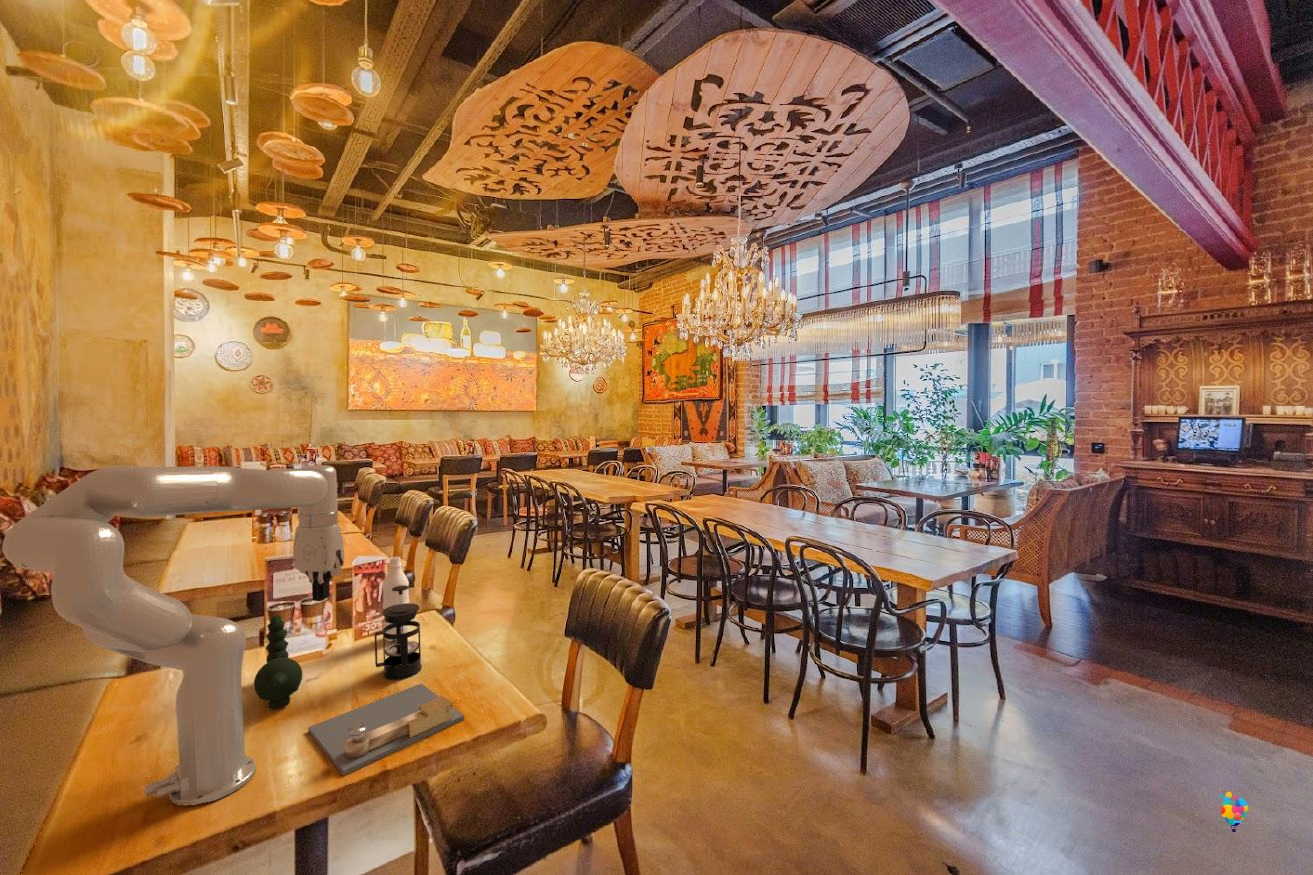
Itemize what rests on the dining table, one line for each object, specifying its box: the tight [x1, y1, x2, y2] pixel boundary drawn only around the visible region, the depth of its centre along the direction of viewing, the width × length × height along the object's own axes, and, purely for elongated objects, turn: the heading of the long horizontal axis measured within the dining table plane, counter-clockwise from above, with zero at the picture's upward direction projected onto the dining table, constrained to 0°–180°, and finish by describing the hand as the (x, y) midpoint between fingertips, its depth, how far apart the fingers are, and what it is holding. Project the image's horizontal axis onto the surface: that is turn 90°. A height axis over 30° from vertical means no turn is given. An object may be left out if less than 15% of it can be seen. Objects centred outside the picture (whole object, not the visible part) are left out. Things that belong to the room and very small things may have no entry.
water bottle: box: [382, 556, 411, 643], centre depth 164 cm, size 7×7×25 cm
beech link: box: [345, 711, 425, 758], centre depth 115 cm, size 18×4×2 cm, turn 137°
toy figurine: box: [253, 614, 303, 710], centre depth 133 cm, size 9×19×25 cm
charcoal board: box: [307, 683, 465, 777], centre depth 121 cm, size 25×21×1 cm
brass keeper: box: [407, 695, 453, 739], centre depth 120 cm, size 10×4×4 cm, turn 138°
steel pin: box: [348, 724, 366, 743], centre depth 110 cm, size 3×3×2 cm
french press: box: [374, 585, 423, 681], centre depth 145 cm, size 12×9×23 cm
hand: (321, 598), depth 125 cm, fingers closed
